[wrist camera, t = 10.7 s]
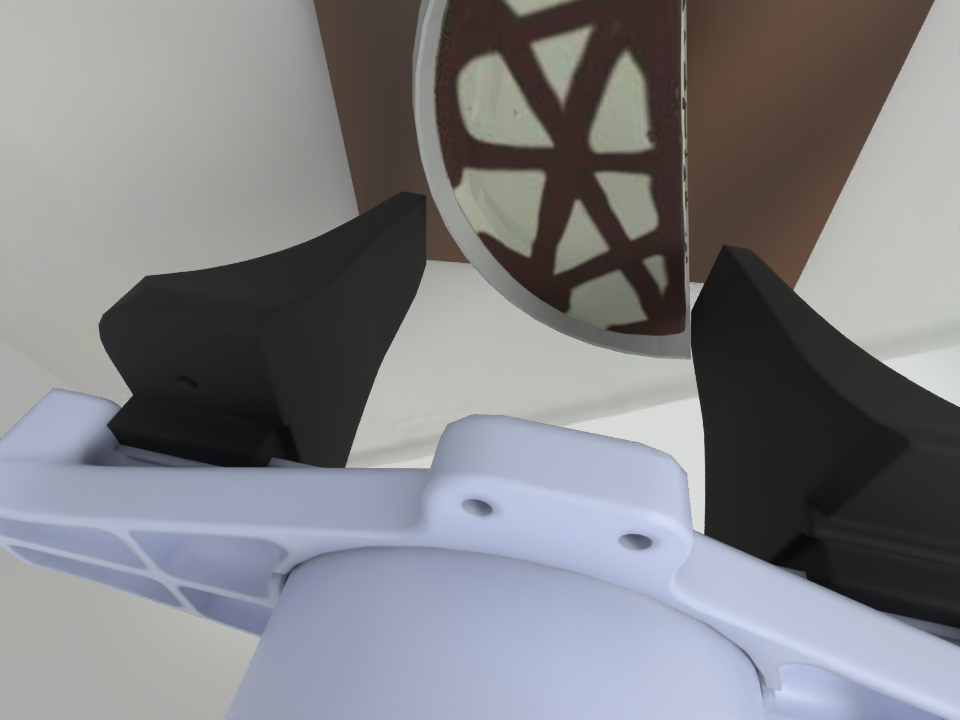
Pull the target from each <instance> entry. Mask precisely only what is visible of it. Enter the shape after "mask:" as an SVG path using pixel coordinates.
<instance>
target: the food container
mask: <svg viewBox="0 0 960 720" xmlns="http://www.w3.org/2000/svg"><path fill="white" fill-rule="evenodd" d="M412 104H413V111H414V118H415V125H416V133H417V140H418V146H419V149H420V155H421V161H422V164H423V167H424V171H425V174H426V178H427V181H428V184H429V188H430V191H431V194H432V197H433V199H434V201H435V204H436V206H437V208H438V210H439V212H440V214H441V217H442V219H443V221H444V223H445V225H446V228H447V229H448V231H449V232H450V234H451V235H452V237H453V238H454V240H455V242H456V243H457V245H458V246H459V248H460V249H461V251H462V252H463V254H464V256H465V257H466V258H467V259H468V260H469V262H470V263H471V264H472V265H473V266H474V267H475V268H476V270H477V271H478V272H479V273H480V274H481V275H482V277H483V278H484V279H485V280H486V281H487V282H488V283H489V284H490V285H491V286H493V287H494V288H495V289H496V290H497V291H498V292H499V293H500V294H501V295H503V296H504V297H505V298H506V299H507V300H508V301H509V302H511V303H512V304H514V305H515V306H517V307H518V308H519V309H521V310H522V311H524V312H525V313H527V314H528V315H530V316H531V317H533V318H534V319H536V320H538V321H539V322H541V323H543V324H545V325H547V326H549V327H551V328H553V329H555V330H557V331H559V332H561V333H563V334H565V335H568V336H570V337H573V338H576V339H578V340H581V341H583V342H586V343H589V344H591V345H594V346H598V347H602V348H606V349H610V350H614V351H618V352H622V353H627V354H634V355H641V356H648V357H655V358H670V359H691V347H690V287H689V227H688V200H689V199H688V166H687V156H688V153H687V40H686V0H422V1H421V5H420V10H419V17H418V24H417V30H416V37H415V44H414V51H413V79H412Z"/></svg>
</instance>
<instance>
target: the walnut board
mask: <svg viewBox="0 0 960 720" xmlns="http://www.w3.org/2000/svg"><path fill="white" fill-rule="evenodd" d="M421 1H422V0H314V4H315V9H316V14H317V18H318V23H319V28H320V32H321V37H322V42H323V46H324V51H325V56H326V60H327V65H328V70H329V74H330V79H331V84H332V88H333V93H334V98H335V102H336V107H337V112H338V116H339V121H340V126H341V130H342V135H343V140H344V144H345V149H346V154H347V158H348V163H349V168H350V172H351V177H352V182H353V186H354V191H355V196H356V200H357V205H358V210H359V214H360V215H361V214H363V213H365V212H366V211H368V210H370V209H372V208H373V207H375V206H377V205H378V204H380V203H382V202H383V201H385V200H387V199H389V198H390V197H392V196H394V195H396V194H398V193H400V192H402V191H404V192H410V193H416V194H422V195H426V260H437V261H449V262H460V263H470V262H469V260H468V259H467V258H466V257H465V256H464V254H463V252H462V251H461V249H460V248H459V246H458V245H457V243H456V242H455V240H454V238H453V237H452V235H451V234H450V232H449V231H448V229H447V228H446V225H445V223H444V221H443V219H442V217H441V214H440V212H439V210H438V208H437V206H436V204H435V201H434V199H433V197H432V194H431V191H430V188H429V184H428V181H427V178H426V174H425V171H424V167H423V164H422V161H421V155H420V149H419V146H418V140H417V133H416V125H415V118H414V111H413V104H412V79H413V51H414V44H415V37H416V30H417V24H418V17H419V10H420V5H421ZM934 1H935V0H686V40H687V153H688V156H687V166H688V199H689V200H688V227H689V282H696V283H705V281H706V279H707V277H708V275H709V273H710V271H711V269H712V267H713V265H714V263H715V261H716V258H717V256H718V254H719V252H720V250H721V248H722V246H723V245H728V246H734V247H740V248H746V249H750V250H752V251H753V252H754V253H755V254H756V255H758V256H759V257H760V258H761V259H762V260H763V261H764V262H765V263H766V264H767V265H768V266H769V267H770V268H771V269H772V270H773V271H774V272H775V273H776V274H777V275H778V276H779V277H780V278H781V279H782V280H783V281H784V282H785V283H786V284H787V285H788V286H789V287H790V288H791V289H792V290H794V288H795V285H796V283H797V281H798V279H799V277H800V275H801V273H802V271H803V269H804V267H805V265H806V263H807V261H808V259H809V257H810V255H811V253H812V251H813V249H814V247H815V244H816V242H817V240H818V238H819V236H820V234H821V232H822V230H823V228H824V226H825V224H826V222H827V220H828V218H829V216H830V214H831V212H832V210H833V208H834V206H835V204H836V201H837V199H838V197H839V195H840V193H841V191H842V189H843V187H844V185H845V183H846V181H847V179H848V177H849V175H850V173H851V171H852V169H853V167H854V165H855V163H856V160H857V158H858V156H859V154H860V152H861V150H862V148H863V146H864V144H865V142H866V140H867V138H868V136H869V134H870V132H871V130H872V128H873V126H874V124H875V122H876V119H877V117H878V115H879V113H880V111H881V109H882V107H883V105H884V103H885V101H886V99H887V97H888V95H889V93H890V91H891V89H892V87H893V85H894V83H895V81H896V78H897V76H898V74H899V72H900V70H901V68H902V66H903V64H904V62H905V60H906V58H907V56H908V54H909V52H910V50H911V48H912V46H913V44H914V42H915V40H916V38H917V35H918V33H919V31H920V29H921V27H922V25H923V23H924V21H925V19H926V17H927V15H928V13H929V11H930V9H931V7H932V5H933V3H934Z"/></svg>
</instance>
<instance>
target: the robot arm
mask: <svg viewBox="0 0 960 720" xmlns="http://www.w3.org/2000/svg"><path fill="white" fill-rule="evenodd" d="M425 266H426V195H422V194H416V193H410V192H404V191H402V192H400V193H398V194H396V195H394V196H392V197H390V198H389V199H387V200H385V201H383V202H382V203H380V204H378V205H377V206H375V207H373V208H372V209H370V210H368V211H366V212H365V213H363V214H361V215H359V216H358V217H356V218H354V219H352V220H351V221H349V222H347V223H345V224H343V225H341V226H339V227H337V228H335V229H333V230H331V231H329V232H327V233H325V234H323V235H321V236H318V237H316V238H314V239H312V240H309V241H307V242H304V243H302V244H299V245H296V246H294V247H291V248H288V249H285V250H282V251H279V252H276V253H272V254H269V255H265V256H262V257H258V258H255V259H251V260H248V261H243V262H239V263H234V264H230V265H225V266H219V267H214V268H208V269H202V270H196V271H188V272H179V273H170V274H161V275H151V276H145V277H144V278H143V279H142V280H141V281H140V282H139V283H138V284H136V285H135V286H134V287H133V288H132V289H131V290H130V291H129V292H128V293H127V294H125V295H124V296H123V297H122V298H121V299H120V300H119V301H118V302H117V303H115V304H114V305H113V306H112V307H111V308H110V309H109V310H108V311H107V312H106V313H104V314H103V316H102V318H101V320H100V323H99V332H100V339H101V341H102V344H103V346H104V348H105V350H106V352H107V354H108V355H109V357H110V359H111V360H112V362H113V363H114V365H115V367H116V368H117V370H118V371H119V373H120V375H121V376H122V378H123V379H124V381H125V383H126V384H127V386H128V387H129V389H130V391H131V392H132V394H133V396H132V397H131V398H130V399H129V400H128V402H127V403H126V404H125V405H124V406H123V407H122V408H121V407H120V406H119V405H118V404H116V403H114V402H113V401H111V400H108V399H105V398H102V397H97V396H92V395H88V394H83V393H78V392H74V391H69V390H64V389H52V390H51V391H50V392H49V393H48V394H47V395H46V396H45V397H43V399H41V400H40V401H39V402H38V403H37V404H36V405H35V406H34V407H33V408H32V409H31V410H30V411H29V412H28V413H27V414H26V415H25V416H24V417H22V418H21V419H20V420H19V421H18V422H17V423H16V424H15V425H14V426H13V427H12V428H11V429H10V430H9V431H8V432H7V433H6V434H5V435H4V436H3V437H1V438H0V546H1V547H3V548H4V549H5V550H7V551H8V552H9V553H11V554H12V555H13V556H15V557H16V558H17V559H19V560H20V561H21V562H23V563H24V564H27V565H31V566H35V567H39V568H42V569H47V570H50V571H54V572H58V573H62V574H65V575H69V576H73V577H76V578H80V579H83V580H87V581H90V582H93V583H97V584H100V585H104V586H107V587H110V588H113V589H117V590H120V591H123V592H126V593H129V594H132V595H135V596H138V597H141V598H145V599H147V600H151V601H153V602H157V603H159V604H163V605H165V606H168V607H171V608H174V609H177V610H180V611H183V612H186V613H189V614H192V615H195V616H198V617H201V618H204V619H207V620H210V621H213V622H216V623H219V624H222V625H224V626H227V627H230V628H234V629H236V630H239V631H242V632H246V633H248V634H252V635H254V636H257V637H260V638H261V639H260V641H259V643H258V645H257V647H256V649H255V652H254V654H253V656H252V658H251V660H250V663H249V665H248V667H247V669H246V671H245V674H244V676H243V678H242V680H241V683H240V685H239V687H238V689H237V691H236V693H235V696H234V698H233V700H232V702H231V704H230V706H229V709H228V711H227V713H226V715H225V717H224V719H223V720H960V407H958V406H956V405H954V404H952V403H950V402H948V401H946V400H944V399H943V398H941V397H938V396H937V395H935V394H933V393H931V392H930V391H928V390H926V389H924V388H922V387H921V386H919V385H917V384H915V383H914V382H912V381H910V380H909V379H907V378H906V377H904V376H902V375H901V374H899V373H897V372H896V371H894V370H892V369H891V368H889V367H888V366H886V365H885V364H883V363H882V362H880V361H879V360H877V359H876V358H874V357H873V356H871V355H870V354H868V353H867V352H866V351H864V350H863V349H861V348H860V347H859V346H857V345H856V344H855V343H853V342H852V341H850V340H849V339H848V338H846V337H845V336H844V335H843V334H841V333H840V332H839V331H838V330H836V329H835V328H834V327H833V326H832V325H830V324H829V323H828V322H827V321H826V320H825V319H824V318H822V317H821V316H820V315H819V314H818V313H817V312H815V311H814V310H813V309H812V308H811V307H810V306H809V305H808V304H807V303H806V302H805V301H804V300H803V299H801V298H800V297H799V296H798V295H797V294H796V293H795V292H794V291H793V290H792V289H791V288H790V287H789V286H788V285H787V284H786V283H785V282H784V281H783V280H782V279H781V278H780V277H779V276H778V275H777V274H776V273H775V272H774V271H773V270H772V269H771V268H770V267H769V266H768V265H767V264H766V263H765V262H764V261H763V260H762V259H761V258H760V257H759V256H758V255H756V254H755V253H754V252H753V251H752V250H750V249H746V248H740V247H734V246H728V245H723V246H722V248H721V250H720V252H719V254H718V256H717V258H716V261H715V263H714V265H713V267H712V269H711V271H710V273H709V275H708V277H707V279H706V281H705V284H704V286H703V288H702V290H701V292H700V294H699V296H698V298H697V300H696V302H695V304H694V307H693V309H692V311H691V349H692V356H693V363H694V369H695V375H696V381H697V388H698V394H699V400H700V405H701V412H702V418H703V428H704V444H705V530H704V532H705V533H704V534H702V533H699V532H697V531H695V530H693V527H692V518H691V508H690V498H689V488H688V480H687V479H688V478H687V473H686V472H685V471H684V469H683V468H682V467H681V466H680V465H679V464H678V463H677V461H676V460H675V459H674V458H673V457H672V456H671V455H669V454H667V453H664V452H662V451H660V450H657V449H654V448H652V447H649V446H647V445H644V444H641V443H638V442H633V441H628V440H623V439H618V438H613V437H608V436H603V435H598V434H593V433H588V432H583V431H578V430H573V429H568V428H563V427H558V426H553V425H549V424H544V423H539V422H534V421H529V420H524V419H519V418H514V417H509V416H504V415H478V414H474V415H470V416H467V417H465V418H462V419H460V420H457V421H455V422H452V423H450V424H447V426H446V428H445V430H444V432H443V434H442V436H441V438H440V440H439V442H438V446H437V449H436V452H435V455H434V459H433V462H432V465H431V468H430V469H422V468H420V469H417V468H345V466H346V463H347V460H348V456H349V453H350V450H351V447H352V444H353V441H354V438H355V435H356V431H357V428H358V425H359V423H360V420H361V417H362V414H363V411H364V408H365V405H366V402H367V399H368V397H369V394H370V391H371V389H372V386H373V383H374V381H375V378H376V375H377V372H378V370H379V367H380V365H381V363H382V361H383V359H384V356H385V354H386V352H387V351H388V349H389V347H390V345H391V343H392V341H393V339H394V337H395V335H396V333H397V331H398V329H399V327H400V325H401V323H402V322H403V320H404V318H405V316H406V314H407V312H408V310H409V308H410V306H411V304H412V302H413V300H414V298H415V296H416V293H417V290H418V288H419V285H420V282H421V279H422V276H423V273H424V270H425Z"/></svg>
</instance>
